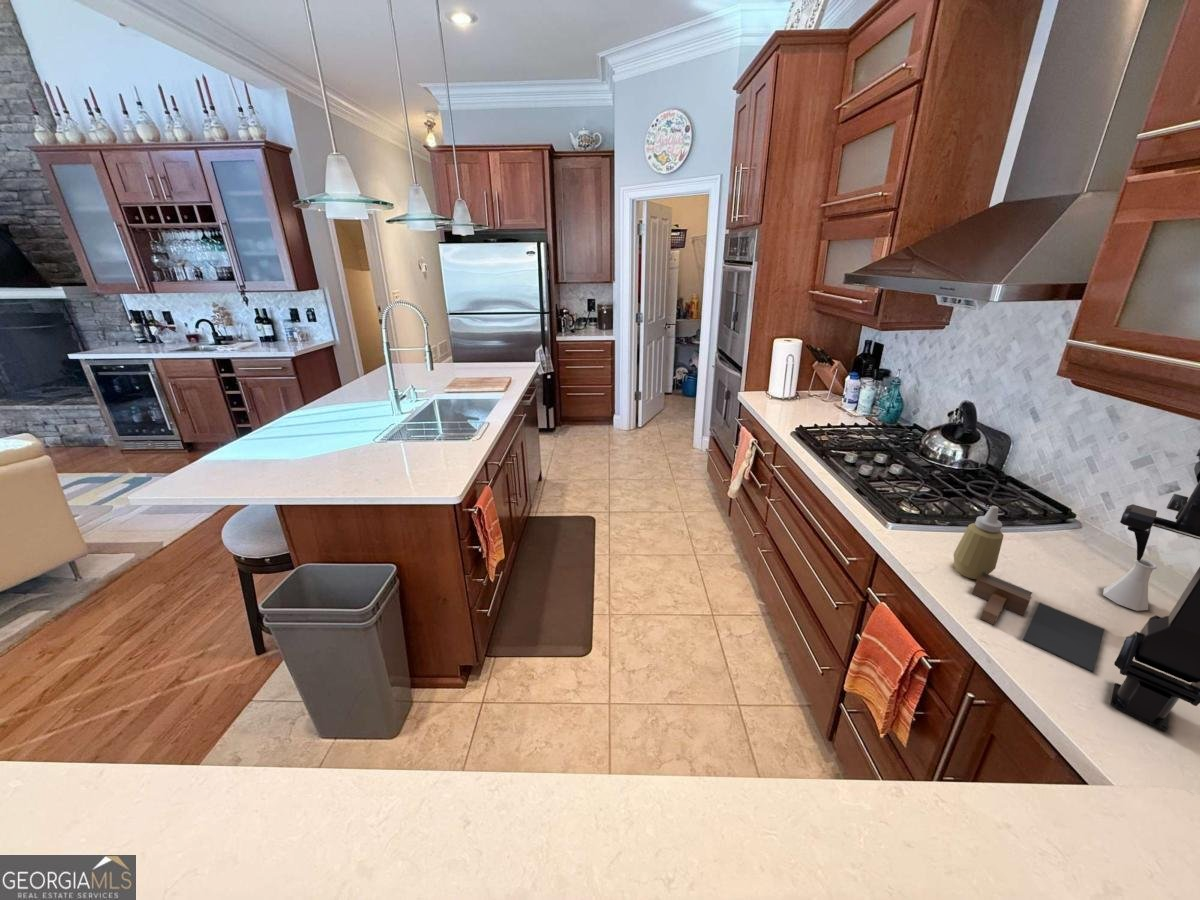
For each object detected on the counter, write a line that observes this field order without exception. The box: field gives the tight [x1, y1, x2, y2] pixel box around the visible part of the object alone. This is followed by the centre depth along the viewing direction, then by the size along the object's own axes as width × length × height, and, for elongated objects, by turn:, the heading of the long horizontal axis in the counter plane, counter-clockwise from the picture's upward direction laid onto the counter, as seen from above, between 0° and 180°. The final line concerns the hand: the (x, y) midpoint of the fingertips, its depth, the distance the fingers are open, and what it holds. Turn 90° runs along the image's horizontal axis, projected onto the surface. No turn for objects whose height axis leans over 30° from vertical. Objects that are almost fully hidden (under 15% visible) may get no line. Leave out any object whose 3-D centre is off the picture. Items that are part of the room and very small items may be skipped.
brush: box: [971, 573, 1033, 625], centre depth 100 cm, size 13×9×4 cm
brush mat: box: [1022, 602, 1104, 673], centre depth 94 cm, size 16×10×1 cm, turn 130°
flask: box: [1102, 558, 1158, 612], centre depth 101 cm, size 7×7×10 cm
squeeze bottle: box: [953, 505, 1004, 581], centre depth 108 cm, size 8×8×18 cm
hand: (1172, 571), depth 90 cm, fingers open, 9 cm apart
